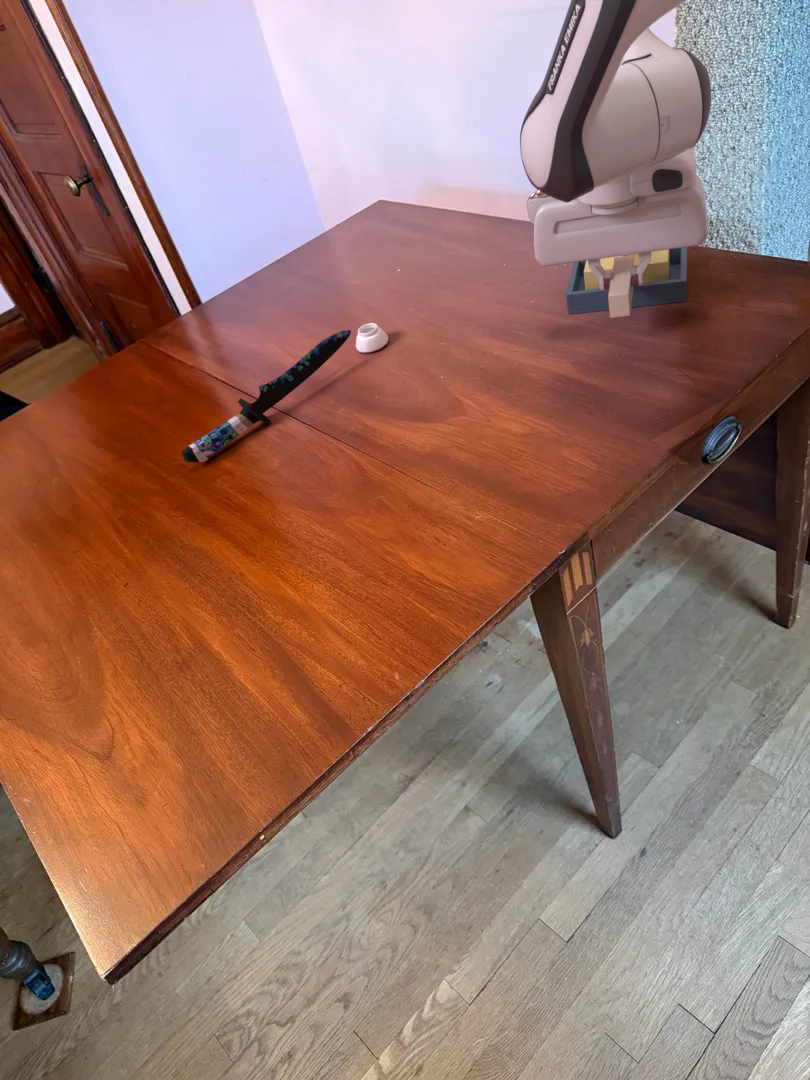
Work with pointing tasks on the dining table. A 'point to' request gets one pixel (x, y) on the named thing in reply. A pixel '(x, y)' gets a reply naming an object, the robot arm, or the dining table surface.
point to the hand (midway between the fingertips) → (622, 285)
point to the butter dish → (642, 295)
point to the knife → (264, 400)
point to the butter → (653, 272)
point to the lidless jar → (370, 338)
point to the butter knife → (621, 287)
